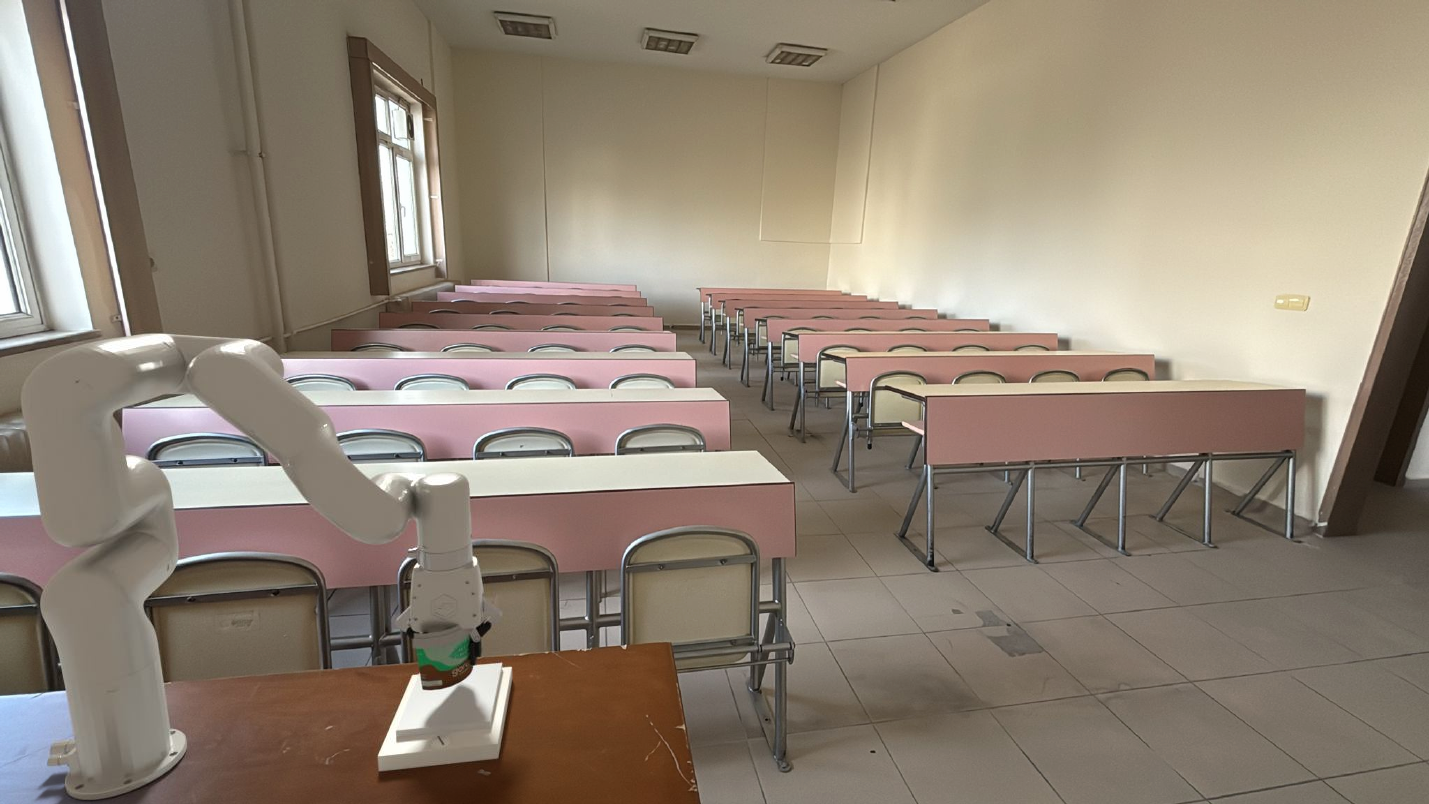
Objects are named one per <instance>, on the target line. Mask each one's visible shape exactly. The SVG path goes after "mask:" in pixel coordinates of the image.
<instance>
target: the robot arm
mask: <svg viewBox="0 0 1429 804" xmlns="http://www.w3.org/2000/svg"><path fill="white" fill-rule="evenodd" d="M284 376H285V366H284V363H283V360H282V358H281V357H280V355H279V354H278V353H277V352H276V351H275V350H274V349H273V348H272V347H271V346H269V345H267V344H265V343H263V342H261V341H258V340H255V339H249V338H239V337H238V338H232V337H218V336H215V337H214V336H201V335H199V336H198V335H187V334H185V335H184V334H173V333H171V334H170V333H142V334H134V335H128V336H122V337H121V336H120V337H113V338H112V337H111V338H107V339H101V340H96V341H92V342H89V343H88V342H87V343H84V344H79V345H77V346H74V347H71V348H67V349H65V350H63V351H60V352H58V353H56V354H54V355H52V356H51V357H48V358H47V359H46V360H44V361H42V362H41V363H39V364H38V365H37V366H36V367H35V368H34V369H33V370H32V371H31V372H30V374H29V375H28V376H27V378H26V380H25V381H24V382H23V383H24V384H23V386H22V389H21V394H20V405H21V407H20V408H21V412H22V417H23V422H24V424H25V429H26V432H27V437H28V440H29V447H30V453H31V461H32V469H33V470H32V471H33V475H34V482H35V483H34V484H35V488H36V494H37V500H38V506H39V507H38V508H39V513H40V518H41V519H40V520H41V523H42V526H43V528H44V531H45V532H46V534H47V535H48V537H49V538H50V539H51V540H52V541H54V542H55V543H57V544H58V545H61V546H63V547H67V548H70V549H83V548H84V549H85V548H88V549H87V550H85V551H84V552H82V553H80V554H79V555H78V556H76V557H74V558H73V559H72V560H70V561H68V562H67V563H66V564H65V565H63V566H62V567H61V568H60V569H59V570H57V571H56V572H55V573H54V574H53V575H52V576H51V578H49V580H48V582H47V583H46V584H45V585H44V588H43V590H42V593H41V596H40V601H39V603H40V604H39V605H40V612H41V615H42V618H43V620H44V622H45V624H46V626H47V629H48V631H49V632H50V634H51V636H52V639H53V641H54V644H55V647H56V650H57V654H58V657H59V662H60V667H61V672H62V677H63V682H64V688H65V692H66V698H67V706H68V711H69V715H70V716H69V718H70V722H71V728H72V733H73V739H65V740H56V741H54V742H53V743H52V745H50V749H49V755H50V756H49V758H48V759H47V761H46V766H47V767H48V768H49V767H61V766H64V765H66V766H67V767H69V771H68V773H67V774H66V776H65V780H64V787H65V791H66V794H68V795H69V796H70V797H72V798H73V799H78V800H83V801H84V800H87V801H88V800H89V801H91V800H93V801H95V800H101V799H106V798H112V797H113V798H114V797H116V796H119V795H122V794H125V793H129V792H131V791H133V790H136V789H138V788H141V787H143V786H145V785H147V784H149V783H151V782H152V781H154V780H157V779H158V778H160V777H161V776H163V775H164V774H166V773H167V772H169V771H170V770H171V769H173V767H174V766H175V765H176V764H177V763H179V761H180V760H181V759H182V758H183V756H184V755H185V753H186V751H187V748H188V742H187V737H186V735H185V733H183V731H181V730H178V729H175V728H171V725H170V718H169V717H170V716H169V712H168V710H169V709H168V703H167V697H166V690H165V683H164V677H163V669H162V663H161V654H160V649H159V642H158V637H157V634H156V630H155V627H154V626H153V624H152V622H151V620H150V619H149V617H147V614H146V612H145V609H144V608H145V607H144V603H145V601H146V599H147V598H149V596H150V595H151V594H152V593H154V592H155V591H156V590H157V589H158V588H159V587H160V586H161V585H162V584H163V583H164V582H165V581H167V579H169V577H170V576H171V575H172V574H173V572H174V570H175V568H176V567H177V564H178V561H179V553H180V550H179V540H178V533H177V532H178V531H177V525H176V524H177V523H176V516H175V515H176V514H175V508H174V500H173V493H172V488H171V484H170V482H169V480H168V477H167V476H166V474H165V473H164V471H163V470H162V469H161V468H160V467H159V466H158V465H157V464H156V463H154V462H152V461H151V460H149V459H148V458H145V457H142V456H138V455H131V454H126V441H125V437H124V435H123V432H122V428H121V426H120V425H119V423H118V421H117V420H116V419H115V417H114V413H115V412H116V411H118V410H120V409H122V408H125V407H126V408H127V407H130V406H133V405H136V404H140V403H142V402H146V401H150V400H152V399H154V398H157V397H159V396H162V395H190V396H191V395H194V396H195V398H197V400H199V401H200V402H201V403H202V404H203V405H204V406H206V407H207V408H208V409H210V410H211V411H213V412H214V413H216V414H217V415H218V416H219V417H221V418H222V419H223V420H224V421H225V422H227V423H228V424H230V425H231V426H233V427H234V428H235V429H237V431H239V432H240V433H242V434H243V435H244V436H246V438H248V439H249V440H251V441H252V442H253V443H255V444H256V445H257V446H258V447H260V448H261V449H262V450H263V451H265V452H266V453H267V454H269V455H270V456H271V457H272V458H273V459H275V461H276V462H278V463H279V465H280V466H281V467H282V469H283V471H284V473H285V475H286V476H287V477H288V479H289V480H290V482H291V484H293V486H295V487H294V488H296V489H297V491H298V492H299V494H300V495H301V496H302V497H303V499H304V500H305V501H306V503H308V504H309V505H310V507H311V508H313V509H314V510H315V511H316V512H317V513H319V515H320V516H321V517H324V518H325V519H326V520H328V522H330V523H331V524H332V525H334V526H335V527H337V528H338V529H339V530H341V531H342V532H343V533H345V534H346V535H348V536H349V537H351V538H352V539H354V540H356V541H359V542H362V543H365V544H368V545H377V546H378V545H383V544H388V543H390V542H392V541H394V540H396V539H397V538H398V537H399V536H400V535H402V534H403V532H404V531H405V529H406V527H407V525H408V524H409V521H410V520H414V521H415V523H416V533H417V534H416V535H417V547H415V548H409V549H408V551H407V557H408V559H414V560H415V559H416V562H417V563H416V564H415V565H414V567H413V569H412V572H411V573H412V575H411V584H410V601H409V602H410V603H409V606H408V607H407V608H406V609H405V610H404V611H402V612H401V614H400V615H399V616H397V618H396V620H395V621H394V626H395V627H396V628H398V629H399V630H400V631H402V632H403V633H404V632H405V634H406V636H407V637H409V638H410V639H411V640H413V638H414V633H416V634H422V633H423V632H435V631H445V630H448V629H451V628H453V627H456V626H458V625H460V629H462V628H463V629H465V630H467V629H473V631H472V632H471V633H470V636H471V641H470V643H469V651H470V665H471V666H475V665H477V664H476V663H477V661H478V658H481V657H482V652H483V651H482V647H483V646H482V638H483V637H484V636H485V635H486V634H487V633H488V632H489V631H490V630H491V629H492V627H493V626H494V625H495V624H496V623H498V621H500V620H501V618H502V615H503V611H502V610H501V609H499V607H498V606H496V605H495V604H494V603H492V602H491V601H489V599H487V598H486V597H485V593H484V586H483V585H484V584H483V580H482V579H483V578H482V574H481V572H482V571H481V568H480V565H479V562H478V561H479V560H478V558H477V557H476V556H474V555H473V539H472V538H473V537H472V535H473V533H472V513H471V495H470V494H471V493H470V490H471V489H470V482H469V480H468V478H467V477H466V476H465V475H464V474H461V473H458V472H454V471H453V472H451V471H444V472H443V471H442V472H436V473H435V472H434V473H431V474H430V473H429V474H420V473H419V474H418V473H408V472H400V471H399V472H398V471H390V472H383V473H379V474H377V475H375V476H373V477H371V478H369V477H368V476H367V475H365V474H364V473H363V472H362V471H361V470H360V469H359V468H358V467H357V466H356V465H355V464H354V463H353V462H352V460H351V459H349V458H348V456H347V455H346V453H345V452H344V450H343V448H342V446H341V445H340V442H339V438H338V436H337V432H336V428H335V426H334V423H333V420H332V419H331V417H330V415H328V413H327V412H326V411H324V410H323V409H322V408H321V407H319V406H318V405H317V404H316V403H315V402H314V401H312V400H311V399H309V398H308V397H307V396H306V395H304V394H303V393H302V392H301V391H300V390H298V389H297V388H296V387H295V386H293V384H290V382H288V381H287V379H285V378H284ZM484 613H485V614H487V615H488V617H487V618H485V619H484V620H483V614H484Z"/></svg>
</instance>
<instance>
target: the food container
mask: <svg viewBox="0 0 1429 804" xmlns="http://www.w3.org/2000/svg"><path fill="white" fill-rule="evenodd" d="M472 631H473V629H467V630H465V629H463V628H462V629H460V625H458V626H456V627H453V628H451V629H448V630H445V631H435V632H423V633H422V634H416V633H414V638H413V639H412V649H415V651H416V658H417V664H418V665H417V666H418V670H419V673H420V677H421V684H422V690H440V689H444V688H448V687H451V686H454V685H456V684H458V683H460V682H462V681H463V680H464V679H466V678H467V677H468V676H469V675H470V674H471V672H472V670H473V666H471V665H470V651H469V643H470V641H471V636H470V633H471V632H472Z"/></svg>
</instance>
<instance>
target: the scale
mask: <svg viewBox="0 0 1429 804" xmlns="http://www.w3.org/2000/svg"><path fill="white" fill-rule="evenodd" d="M512 682H513V667H512V666H505V667H503V662H498V663H497V662H496V663H486V664H476V665H475V666H473V670H472V672H471V674H470V675H469V676H468V677H467V678H466V679H464V680H463V681H462V682H460V683H458V684H456V685H454V686H451V687H448V688H444V689H440V690H422V684H421V677H420V672H419V673H418V674H411V677H410V680H409V682H408V684H407V687H406V689H405V691H404V694H403V697H402V699H401V700H400V704H399V705H398V708H397V710H396V713H395V715H394V717H393V719H392V722H391V724H390V726H389V730H388V731H387V734H386V737H385V738H384V741H383V743H382V745H381V748H380V749H379V752H378V755H377V764H378V765H377V766H378V772H387V771H395V770H403V769H404V770H405V769H414V768H422V767H430V766H431V767H432V766H440V765H451V764H460V763H467V762H476V761H486V760H497V759H499V755H500V750H501V745H502V744H501V743H502V738H503V733H504V727H505V723H506V716H507V710H508V705H509V700H510V694H511V689H512V688H511V687H512V684H513V683H512Z"/></svg>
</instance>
